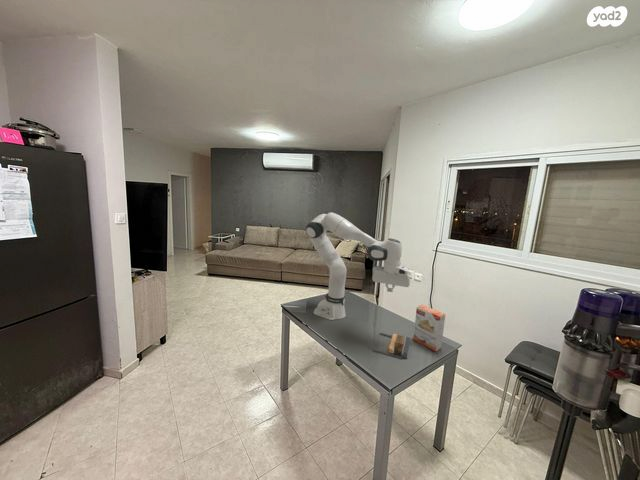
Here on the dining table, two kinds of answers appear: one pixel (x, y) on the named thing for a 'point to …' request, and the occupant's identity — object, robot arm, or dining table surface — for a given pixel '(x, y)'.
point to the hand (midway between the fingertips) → (389, 291)
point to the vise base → (404, 351)
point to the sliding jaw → (392, 344)
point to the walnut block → (399, 344)
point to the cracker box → (429, 327)
